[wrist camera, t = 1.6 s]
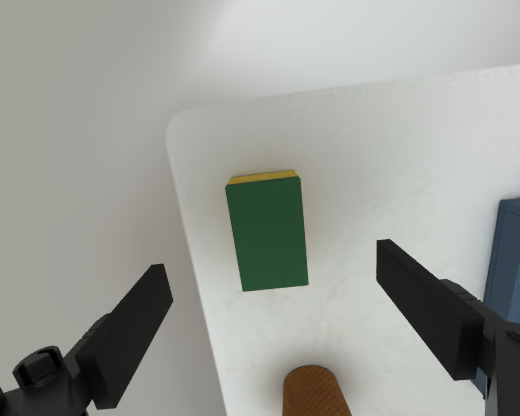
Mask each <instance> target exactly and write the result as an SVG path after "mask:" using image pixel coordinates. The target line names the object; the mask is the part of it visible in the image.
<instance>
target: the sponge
mask: <svg viewBox="0 0 520 416" xmlns="http://www.w3.org/2000/svg"><path fill="white" fill-rule="evenodd" d="M225 190H226V196H227V202H228V207H229V213H230V219H231V225H232V231H233V237H234V243H235V248H236V254H237V260H238V266H239V272H240V278H241V284H242V289H243V292H245V291H255V290H265V289H275V288H285V287H295V286H305V285H308V284H309V283H308V270H307V257H306V245H305V232H304V219H303V207H302V194H301V181H300V178H299V176H298V175H297V174H296V172H295V171H294V170H289V171H281V172H273V173H264V174H256V175H248V176H240V177H232V178H231V180H230V181H229V183H228V184H227V186H226V187H225Z"/></svg>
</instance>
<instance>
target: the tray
mask: <svg viewBox="0 0 520 416" xmlns="http://www.w3.org/2000/svg"><path fill="white" fill-rule="evenodd" d="M484 304H485V305H486V306H487V307H489V308H490V309H491V310H493V311H494V312H495V313H497V314H498V315H499V316H501V317H502V318H503V319H504V320H506V321H507V322H515V323H520V199H511V200H503V201H500V207H499V213H498V219H497V225H496V231H495V237H494V243H493V249H492V255H491V261H490V267H489V273H488V279H487V285H486V291H485V297H484ZM486 378H487V376H486V375H485V374H484V373H483V371H482V370H481V369H480V368H479V367H478V366H477V372H476V379H471V381H472V383H473V384H474V385H475V386H476V387H477V389H478V390H479V391H480V392H481V393H482V395H484V389H485V383H486Z"/></svg>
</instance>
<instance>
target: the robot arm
mask: <svg viewBox="0 0 520 416" xmlns="http://www.w3.org/2000/svg"><path fill="white" fill-rule="evenodd" d="M376 280H377V282H378V283H379V284H380V286H381V287H382V288H383V290H384V291H385V292H386V293H387V295H388V296H389V297H390V299H391V300H392V301H393V302H394V304H395V305H396V306H397V308H398V309H399V310H400V311H401V313H402V314H403V315H404V317H405V318H406V319H407V320H408V322H409V323H410V324H411V326H412V327H413V328H414V329H415V331H416V332H417V333H418V335H419V336H420V337H421V338H422V340H423V341H424V342H425V344H426V345H427V346H428V348H429V349H430V350H431V351H432V353H433V354H434V355H435V357H436V358H437V359H438V360H439V362H440V363H441V364H442V366H443V367H444V368H445V369H446V371H447V372H448V373H449V375H450V376H451V377H452V378H453V380H454V381H457V380H469V379H476V372H477V366H478V367H479V368H480V369H481V370H482V371H483V373H484V374H485V375H486V376H487V378H486V383H485V389H484V395H483V399H484V400H485V416H520V323H515V322H507V321H506V320H504V319H503V318H502V317H501V316H499V315H498V314H497V313H495V312H494V311H493V310H491V309H490V308H489V307H487V306H486V305H485V304H484V303H482V302H481V301H480V300H477V298H476V297H474V296H473V295H472V294H469V292H468V291H467V290H465V289H464V288H463V287H461V286H460V285H459V284H456V283H454V282H452V281H450V280H448V279H441V280H439V279H438V278H436V277H435V276H434V275H433V274H432V273H430V272H429V271H428V270H427V269H425V268H424V267H423V266H422V265H421V264H419V263H418V262H417V261H416V260H415V259H413V258H412V257H411V256H410V255H409V254H407V253H406V252H405V251H404V250H402V249H401V248H400V247H399V246H398V245H396V244H395V243H394V242H393V241H392V240H390V239H385V240H377V268H376ZM172 302H173V298H172V294H171V290H170V286H169V282H168V279H167V275H166V272H165V267H164V264H156V265H151V266H150V267H149V269H148V270H147V271H146V272H145V273H144V274H143V276H142V277H141V278H140V279H139V280H138V281H137V283H136V284H135V285H134V286H133V288H132V289H131V290H130V291H129V292H128V293H127V294H126V295H125V297H124V298H123V299H122V300H121V301H120V302H119V304H118V305H117V306H116V307H115V309H114V310H113V311H112V312H111V313H109V314H105V315H104V316H103V317H101V318H100V319H99V320H97V321H96V322H95V323H94V324H93V325H92V326H91V328H90V329H89V330H88V332H86V333H85V334H84V335H83V337H82V339H80V340H79V341H78V342H77V343H76V344H75V346H74V347H73V348H72V349H71V350H70V351H69V352H68V353H67V354H66V356H65V357H64V358H63V357H62V355H61V353H60V350H59V348H58V347H56V346H48V347H45V348H42V349H39V350H37V351H35V352H33V353H32V354H30V355H28V356H27V357H26V358H24V359H23V360H22V361H21V362H20V363H19V364H18V365H17V366H16V367H15V368H14V370H13V375H14V377H15V379H16V381H17V383H18V385H19V386H20V388H17V389H14V390H11V391H8V392H5V393H3V391H2V389H1V388H0V416H89V415H88V413H87V410H86V408H87V406H88V405H89V404H90V402H91V400H92V399H93V401H94V403H95V406H96V408H97V410H100V409H112V408H116V407H117V405H118V403H119V401H120V399H121V397H122V396H123V394H124V392H125V390H126V388H127V386H128V384H129V382H130V381H131V379H132V377H133V375H134V373H135V371H136V369H137V368H138V366H139V364H140V362H141V360H142V358H143V356H144V355H145V353H146V351H147V349H148V347H149V345H150V343H151V342H152V340H153V338H154V336H155V334H156V332H157V330H158V329H159V327H160V325H161V323H162V321H163V319H164V317H165V316H166V314H167V312H168V310H169V308H170V306H171V304H172Z"/></svg>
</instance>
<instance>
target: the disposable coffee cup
mask: <svg viewBox="0 0 520 416" xmlns="http://www.w3.org/2000/svg"><path fill="white" fill-rule="evenodd" d="M282 416H352V415H351V413H350V410H349V408H348V405H347V403H346V401H345V398H344V396H343V394H342V392H341V389H340V387H339V384H338V382H337V379H336V377H335V376H334V374H333V373H332V372H330V371H329V370H327V369H325V368H323V367H319V366H304V367H301V368H298V369H296V370H294V371H292V372H291V373H290V374H289V375H288V376H287V377H286V379H285V381H284V390H283V414H282Z"/></svg>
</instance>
